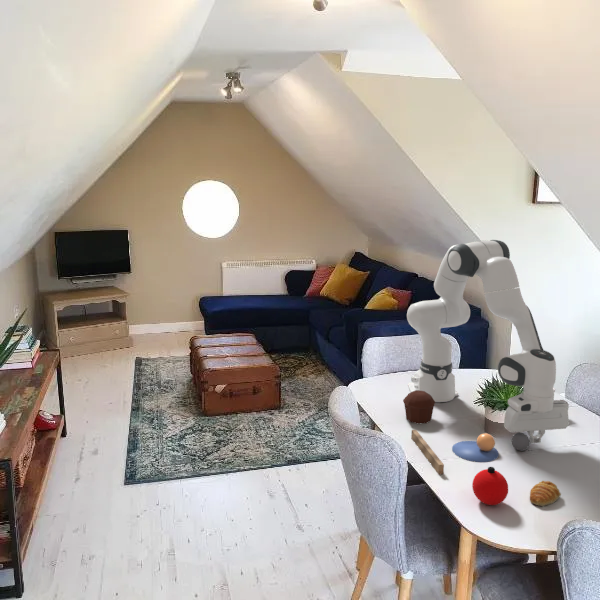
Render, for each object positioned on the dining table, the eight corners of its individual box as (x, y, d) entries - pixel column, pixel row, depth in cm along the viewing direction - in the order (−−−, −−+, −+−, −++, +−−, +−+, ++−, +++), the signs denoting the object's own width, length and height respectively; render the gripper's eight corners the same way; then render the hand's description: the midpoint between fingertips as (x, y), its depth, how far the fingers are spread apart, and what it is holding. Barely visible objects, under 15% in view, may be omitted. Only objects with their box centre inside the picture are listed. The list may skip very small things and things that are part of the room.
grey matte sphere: (526, 432, 181) (514, 445, 182) (516, 426, 178) (504, 439, 180) (536, 444, 176) (524, 456, 177) (526, 437, 174) (514, 450, 175)
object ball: (492, 441, 181) (477, 449, 181) (486, 427, 180) (471, 435, 180) (500, 449, 176) (484, 457, 175) (494, 434, 174) (478, 442, 174)
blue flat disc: (445, 443, 183) (445, 442, 183) (485, 440, 185) (486, 439, 185) (463, 463, 170) (463, 463, 170) (506, 460, 172) (507, 459, 172)
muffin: (408, 410, 210) (409, 384, 208) (438, 415, 205) (439, 389, 203) (398, 421, 200) (399, 395, 198) (429, 428, 195) (430, 400, 193)
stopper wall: (411, 438, 187) (411, 429, 186) (415, 438, 187) (416, 429, 187) (438, 474, 164) (438, 464, 163) (443, 474, 164) (443, 464, 163)
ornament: (482, 489, 155) (484, 456, 153) (513, 502, 149) (516, 468, 147) (464, 502, 150) (466, 467, 147) (496, 516, 143) (498, 480, 141)
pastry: (548, 512, 145) (549, 498, 144) (522, 502, 150) (523, 489, 149) (561, 497, 152) (563, 484, 151) (536, 488, 156) (537, 476, 156)
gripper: (562, 395, 182) (559, 435, 184) (503, 399, 179) (500, 440, 182) (574, 403, 175) (571, 444, 178) (513, 407, 173) (510, 448, 176)
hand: (534, 442), depth 180 cm, fingers closed
